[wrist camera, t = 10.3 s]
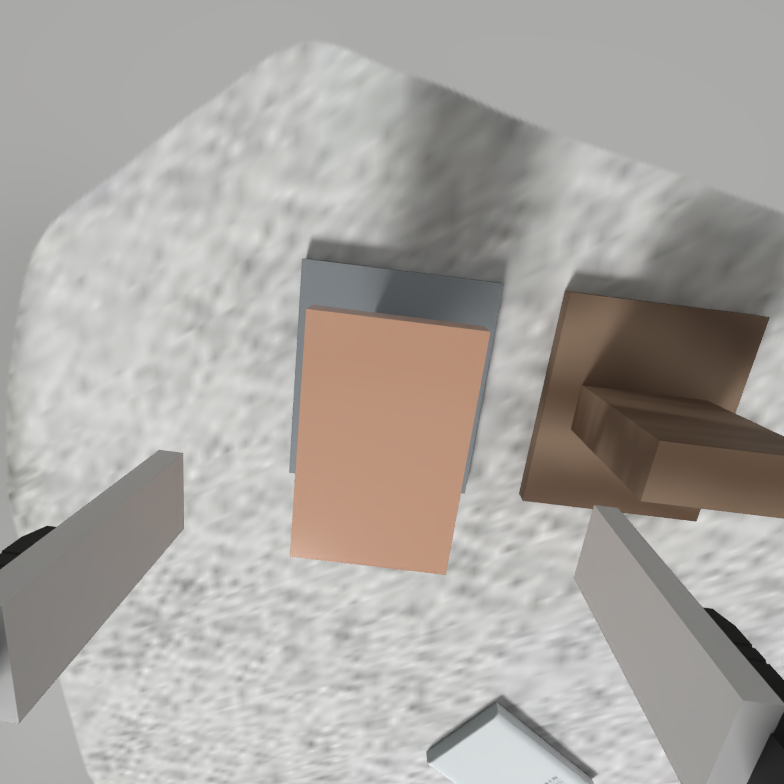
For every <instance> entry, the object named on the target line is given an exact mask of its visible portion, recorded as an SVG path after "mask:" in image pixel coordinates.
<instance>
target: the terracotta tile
mask: <svg viewBox="0 0 784 784" xmlns="http://www.w3.org/2000/svg"><path fill="white" fill-rule="evenodd" d="M489 337H490V331H489V330H488V329H487V328H485V327H484V326H480V325H472V324H464V323H456V322H448V321H440V320H432V319H424V318H416V317H408V316H399V315H391V314H383V313H375V312H367V311H359V310H351V309H343V308H335V307H327V306H319V305H312V306H311V307H309V308H307V309H306V319H305V334H304V349H303V365H302V380H301V396H300V411H299V426H298V442H297V457H296V473H295V488H294V503H293V519H292V534H291V549H290V557H299V558H307V559H316V560H324V561H333V562H341V563H350V564H358V565H367V566H375V567H384V568H392V569H401V570H409V571H418V572H426V573H435V574H443V575H446V570H447V565H448V560H449V554H450V549H451V543H452V538H453V532H454V527H455V522H456V516H457V511H458V505H459V500H460V494H461V489H462V483H463V478H464V473H465V467H466V462H467V456H468V451H469V445H470V440H471V435H472V429H473V424H474V418H475V413H476V407H477V402H478V397H479V391H480V386H481V380H482V375H483V369H484V364H485V359H486V353H487V348H488V342H489Z"/></svg>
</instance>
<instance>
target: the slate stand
mask: <svg viewBox="0 0 784 784" xmlns="http://www.w3.org/2000/svg"><path fill="white" fill-rule="evenodd" d="M503 286H504V284H502V283H496V282H488V281H480V280H472V279H464V278H456V277H448V276H441V275H433V274H425V273H417V272H409V271H401V270H393V269H385V268H377V267H369V266H361V265H353V264H345V263H337V262H329V261H321V260H313V259H302V270H301V286H300V303H299V319H298V336H297V352H296V369H295V385H294V402H293V418H292V435H291V451H290V468H289V473H296V457H297V442H298V426H299V411H300V396H301V380H302V365H303V349H304V334H305V319H306V309H307V308H309V307H311V306H312V305H319V306H327V307H335V308H343V309H351V310H359V311H367V312H375V313H383V314H391V315H399V316H408V317H416V318H424V319H432V320H440V321H448V322H456V323H464V324H472V325H480V326H484V327H485V328H487V329H488V330H489V331H490V337H489V342H488V348H487V353H486V359H485V364H484V369H483V375H482V380H481V386H480V391H479V397H478V402H477V407H476V413H475V418H474V424H473V429H472V435H471V440H470V445H469V451H468V456H467V462H466V467H465V473H464V478H463V483H462V489H461V493H464V494H465V489H466V484H467V479H468V473H469V468H470V463H471V457H472V452H473V447H474V441H475V436H476V431H477V425H478V420H479V415H480V409H481V404H482V398H483V393H484V388H485V382H486V377H487V372H488V366H489V361H490V356H491V350H492V345H493V340H494V334H495V329H496V324H497V318H498V313H499V308H500V302H501V297H502V292H503Z"/></svg>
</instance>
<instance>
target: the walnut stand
mask: <svg viewBox="0 0 784 784" xmlns="http://www.w3.org/2000/svg"><path fill="white" fill-rule="evenodd" d="M769 318H770V317H765V316H759V315H751V314H743V313H735V312H727V311H719V310H711V309H703V308H696V307H688V306H680V305H672V304H664V303H656V302H648V301H640V300H632V299H624V298H616V297H608V296H600V295H592V294H584V293H576V292H568V291H565V293H564V297H563V302H562V306H561V311H560V315H559V319H558V324H557V328H556V333H555V337H554V342H553V346H552V350H551V355H550V359H549V364H548V368H547V373H546V377H545V381H544V386H543V390H542V395H541V399H540V404H539V408H538V412H537V417H536V421H535V426H534V430H533V435H532V439H531V443H530V448H529V452H528V457H527V461H526V466H525V470H524V474H523V479H522V483H521V488H520V492H519V494H520V496H521V498H522V500H523V501H530V502H539V503H547V504H555V505H564V506H572V507H580V508H589V509H593V507H594V505H598V506H606V507H614V508H619V510H620V511H621V512H622V513H630V514H639V515H647V516H655V517H664V518H672V519H680V520H689V521H697V518H698V515H699V512H700V510H701V509H709V510H718V511H726V512H734V513H743V514H751V515H759V516H767V517H776V518H784V436H782V435H779V434H777V433H775V432H773V431H771V430H769V429H767V428H765V427H762V426H760V425H758V424H756V423H754V422H752V421H750V420H748V419H745V418H743V417H741V416H739V415H737V414H735V412H736V410H737V407H738V404H739V401H740V398H741V396H742V393H743V390H744V387H745V385H746V382H747V379H748V376H749V373H750V371H751V368H752V365H753V362H754V360H755V357H756V354H757V351H758V348H759V346H760V343H761V340H762V337H763V334H764V332H765V329H766V326H767V323H768V321H769Z"/></svg>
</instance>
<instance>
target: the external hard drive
mask: <svg viewBox="0 0 784 784" xmlns="http://www.w3.org/2000/svg"><path fill="white" fill-rule="evenodd" d="M426 754H427V763H428V764H429V765H430V766H432V767H433V768H434V769H436V770H437V771H438V772H440V773H441V774H443V775H444V776H445V777H447V778H448V779H450V780H451V781H452V782H454V783H455V784H594V783H593V781H592V779H591V778H590V777H589V776H588V775H586V774H585V773H584V772H583V771H581V770H580V769H579V768H578V767H576V766H575V765H574V764H573V763H571V762H570V761H569V760H568V759H567V758H565V757H564V756H563V755H562V754H560V753H559V752H558V751H557V750H555V749H554V748H553V747H552V746H550V745H549V744H548V743H547V742H546V741H544V740H543V739H542V738H541V737H539V736H538V735H537V734H536V733H534V732H533V731H532V730H531V729H529V728H528V727H527V726H526V725H525V724H523V723H522V722H521V721H520V720H518V719H517V718H516V717H515V716H513V715H512V714H511V713H510V712H508V711H507V710H506V709H505V708H504V707H502V706H501V705H500V704H499V703H497V702H496V703H494V704H493V705H491V706H490V707H489V708H487V709H486V710H484V711H483V712H482V713H480V714H479V715H477V716H476V717H475V718H473V719H472V720H470V721H469V722H468V723H466V724H465V725H463V726H462V727H461V728H459V729H458V730H456V731H455V732H454V733H452V734H451V735H449V736H448V737H447V738H445V739H444V740H442V741H441V742H440V743H438V744H437V745H435V746H434V747H433V748H431V749H430V750H428V751H427V753H426Z"/></svg>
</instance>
